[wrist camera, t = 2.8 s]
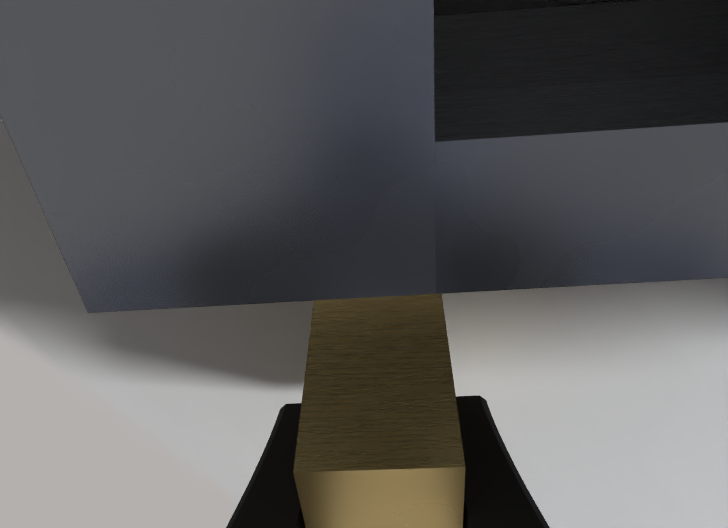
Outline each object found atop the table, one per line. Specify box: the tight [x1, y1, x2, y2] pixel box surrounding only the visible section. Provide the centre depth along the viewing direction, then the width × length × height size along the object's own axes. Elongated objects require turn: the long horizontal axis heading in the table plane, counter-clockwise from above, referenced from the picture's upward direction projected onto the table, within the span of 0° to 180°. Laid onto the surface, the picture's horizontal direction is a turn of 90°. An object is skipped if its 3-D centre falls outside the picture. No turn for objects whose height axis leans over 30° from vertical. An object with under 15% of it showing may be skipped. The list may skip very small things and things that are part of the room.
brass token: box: [293, 293, 465, 528], centre depth 10 cm, size 2×5×4 cm, turn 4°
